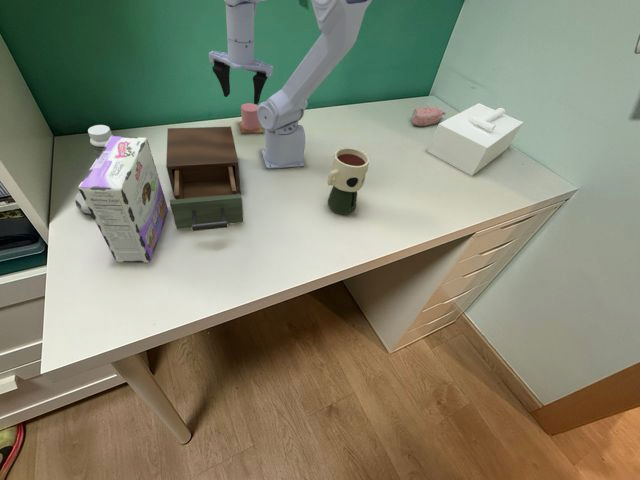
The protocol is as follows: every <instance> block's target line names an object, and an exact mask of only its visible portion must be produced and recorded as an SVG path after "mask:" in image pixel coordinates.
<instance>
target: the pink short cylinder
mask: <svg viewBox="0 0 640 480" xmlns="http://www.w3.org/2000/svg"><path fill="white" fill-rule="evenodd" d="M258 106H259V104H257V105H256V104H254V103H251V102H248V103H247V102H246V103H243V104H241V106H240V112H241V116H240V117H241V121H242V127H243V128H244V129H246V130H257V129H258V128H259V127H260V125H259V120H258V115H257V109H258Z"/></svg>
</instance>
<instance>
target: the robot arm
mask: <svg viewBox="0 0 640 480" xmlns="http://www.w3.org/2000/svg"><path fill="white" fill-rule="evenodd" d="M266 1H267V0H223V2H224V3H225V20H226V43H227V52H222V51H216V50H211V51H209V52H208V60H209V61H208V62H209V63H211V64H213V66H212V67H211V69H212V72H213V73H214V75H215V77H216V78H217V80H218V82H219V84H220V87H221V90H222V93H223V97H225V98H227V97H228V96H229V95H230V94H231V84H230V83H231V82H230V74H231V69H234V70H239V71H240V70H244V71H248V72H252V73H256V74H255V75H253V77H252V82H253V104H256V105H258V109H257V115H258V120H259V122H260V124H261V127H262V129H264V148H265V149H264V148H263V149H261V155H262V158H263V161H264V165H265V168H266V169H281V168H282V169H283V168H285V169H286V168H297V167H300V168H301V167H304V166H305V163H304V159H305V150H306V149H305V148H306V131H305V128H304V126H303V125H302V124H299V122H300V121H301V120H302V119H303V117H304V115H305V110H306V108H307V107H308V106H309V103H308V99H310V97H311V96H312V95H313V94H314V92H315V91H316V90H317V89H318V88H319V86H320V85H322V83H323V82H324V81H325V80H326V78H327V77H328V76H329V75H330V74H331V73H332V71H333V70H334V69H335V68H336V67H337V65H338V64H339V63H340V62H341V61H342V60H343V59H344V58H345V56H347V54H348V53H349V52H350V50H351V49H352V48H353V47H354V45H355V43H356V42H357V39H358V35H359V32H360V30H361V27H362V23H363V19H364V17H365V13H366V10H367V8H368V7H369V6H370V4H371V3H372V1H373V0H310V2H311V6H312V9H313V13H314V17H315V20H316V23H317V26H318V29H319V31H320V32H321V34H320V35H319V37H318V38H317V39H316V41H315V42H314V44H313V45H312V46H311V47H310V48H309V51H308V52H307V53H306V54H305V56H304V57H303V58H302V60H301V62H300V63H299V64H298V66H297V67H296V68H295V70H294V71H293V73H292V74H291V75H290V76H289V78H288V80H287V81H286V82H285V83H284V85H283V86H282V88H281V89H279V90H278V91H276V92H275V93H273V94H272V95H270V96H269V97H268V98H267V100H265V101H262V102H260V100H261V94H262V92H263V88H264V86H265V84H266V82H267V80H268V78H271V77H273V74H274V65H272V64H268V63H265V62H264V61H261V60H259V59H257V58H255V14H257V11H258V3H260V2H266Z"/></svg>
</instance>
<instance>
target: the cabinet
mask: <svg viewBox="0 0 640 480" xmlns="http://www.w3.org/2000/svg"><path fill="white" fill-rule="evenodd" d="M237 153H238V152H237V147H236V144H235V140H234V134H233V130H232V127H231V126H203V127H168V128H167V137H166V161H165V162H166V163H165V167H166V172H167V175H168V179H169V182H170V186H171V191H172V194H173V198H174V199H175V196H174V191H175V169H186V168H203V167H220V166H232V168H233V174H234V179H235V185H236V190H237V194H242V193H241V192H242V191H241V180H240V163H239V158H238V154H237Z"/></svg>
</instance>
